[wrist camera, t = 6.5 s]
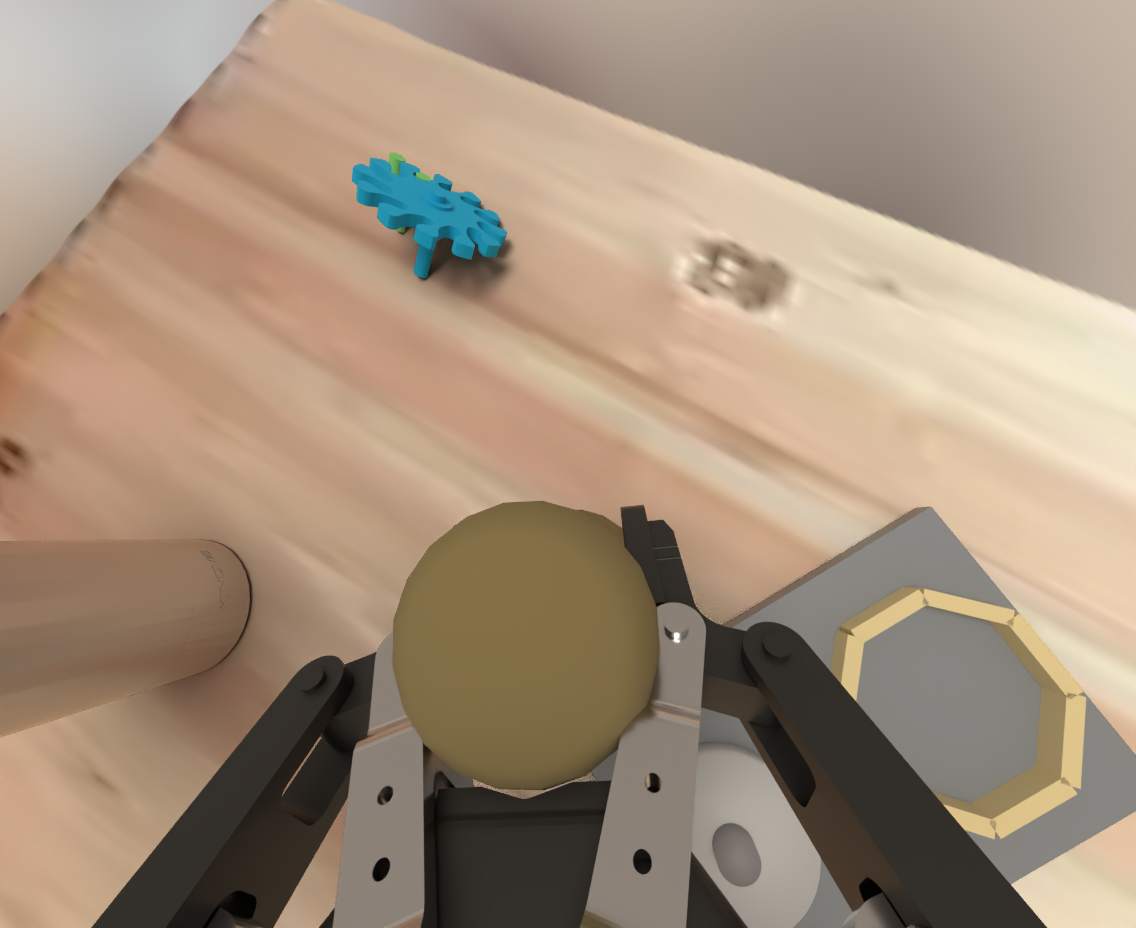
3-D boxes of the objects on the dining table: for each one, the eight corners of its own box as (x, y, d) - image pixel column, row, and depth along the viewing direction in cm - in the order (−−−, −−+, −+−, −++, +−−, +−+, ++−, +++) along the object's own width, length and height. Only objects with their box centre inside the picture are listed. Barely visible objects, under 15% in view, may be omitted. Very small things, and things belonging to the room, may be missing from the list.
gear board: (729, 1016, 21) (751, 1114, 18) (570, 718, 25) (561, 749, 21) (1136, 778, 21) (1244, 829, 17) (916, 507, 24) (967, 503, 21)
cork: (569, 480, 18) (502, 400, 7) (676, 578, 17) (785, 651, 6) (476, 584, 18) (262, 656, 7) (578, 690, 17) (509, 974, 6)
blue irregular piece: (534, 249, 29) (389, 221, 22) (505, 319, 33) (375, 313, 26) (466, 165, 33) (325, 121, 26) (448, 237, 37) (321, 214, 30)
